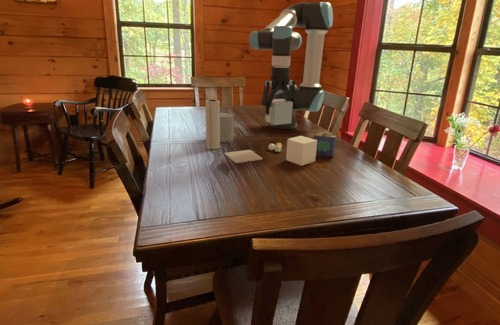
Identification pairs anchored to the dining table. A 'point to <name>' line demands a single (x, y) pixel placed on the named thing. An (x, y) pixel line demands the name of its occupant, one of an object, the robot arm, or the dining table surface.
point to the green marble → (277, 148)
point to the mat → (243, 156)
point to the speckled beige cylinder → (226, 127)
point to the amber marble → (279, 144)
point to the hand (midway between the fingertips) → (277, 121)
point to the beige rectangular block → (301, 150)
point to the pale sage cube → (281, 112)
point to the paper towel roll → (212, 124)
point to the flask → (325, 145)
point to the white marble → (271, 146)
